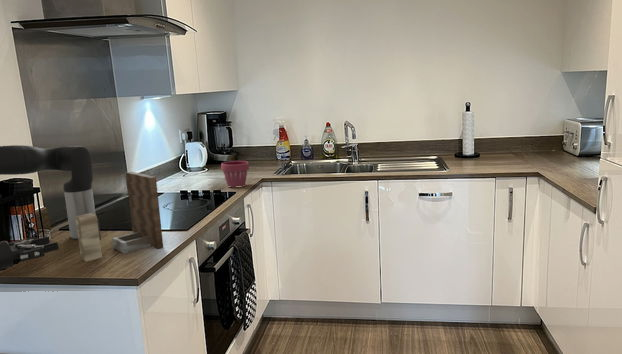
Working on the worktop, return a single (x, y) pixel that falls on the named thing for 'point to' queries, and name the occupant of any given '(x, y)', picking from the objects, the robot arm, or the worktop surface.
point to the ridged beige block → (89, 237)
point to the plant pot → (235, 172)
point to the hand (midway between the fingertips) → (53, 242)
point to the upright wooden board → (141, 215)
